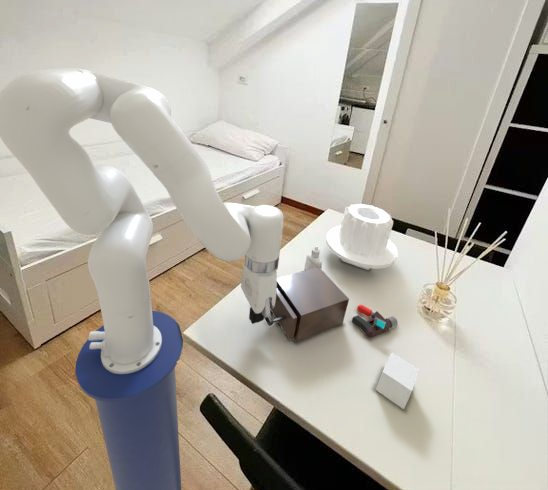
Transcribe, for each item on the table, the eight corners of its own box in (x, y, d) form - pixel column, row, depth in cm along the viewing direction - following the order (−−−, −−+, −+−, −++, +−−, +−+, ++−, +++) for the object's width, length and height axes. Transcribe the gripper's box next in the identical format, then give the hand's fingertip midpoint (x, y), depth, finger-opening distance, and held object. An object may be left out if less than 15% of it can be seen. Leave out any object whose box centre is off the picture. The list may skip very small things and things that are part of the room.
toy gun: (400, 327, 79) (405, 314, 78) (368, 342, 74) (372, 329, 72) (374, 302, 87) (378, 290, 85) (343, 314, 82) (346, 301, 80)
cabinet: (296, 342, 72) (301, 315, 68) (271, 303, 83) (275, 278, 79) (342, 324, 78) (349, 298, 75) (314, 290, 89) (318, 266, 86)
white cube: (384, 369, 68) (391, 352, 65) (411, 387, 64) (419, 369, 62) (375, 390, 63) (382, 371, 61) (403, 409, 60) (412, 391, 58)
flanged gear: (395, 252, 113) (409, 209, 106) (389, 292, 92) (406, 242, 84) (333, 232, 122) (341, 191, 115) (314, 264, 101) (323, 217, 93)
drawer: (271, 347, 69) (274, 325, 66) (251, 309, 79) (253, 288, 76) (333, 323, 77) (338, 303, 74) (307, 292, 87) (311, 272, 84)
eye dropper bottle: (305, 282, 92) (311, 251, 87) (303, 271, 97) (308, 241, 92) (319, 283, 93) (325, 252, 88) (315, 271, 98) (321, 241, 93)
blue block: (309, 322, 75) (310, 314, 74) (299, 326, 74) (301, 317, 73) (292, 299, 82) (294, 291, 81) (283, 302, 81) (284, 294, 80)
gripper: (234, 244, 69) (231, 302, 76) (260, 285, 57) (254, 350, 64) (263, 238, 72) (257, 295, 80) (293, 276, 60) (283, 339, 68)
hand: (256, 319), depth 72 cm, fingers closed
